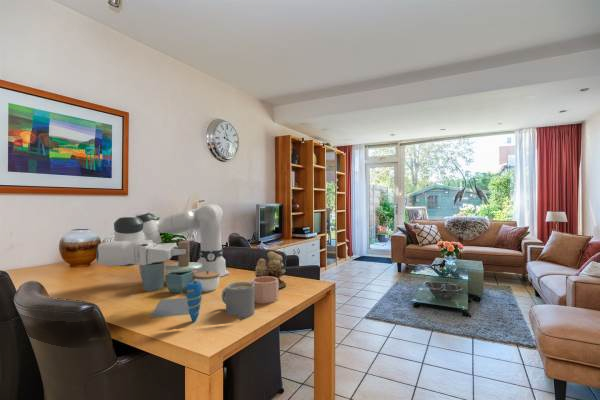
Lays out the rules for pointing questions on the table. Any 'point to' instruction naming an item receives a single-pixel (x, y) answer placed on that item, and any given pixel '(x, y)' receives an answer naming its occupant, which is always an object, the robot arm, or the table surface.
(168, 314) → the mat
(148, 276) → the blue-grey tapered cup
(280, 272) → the brown rock sculpture
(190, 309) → the ornament
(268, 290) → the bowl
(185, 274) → the flower pot
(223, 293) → the coffee mug
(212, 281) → the lidded jar
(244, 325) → the table surface
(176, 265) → the lid
